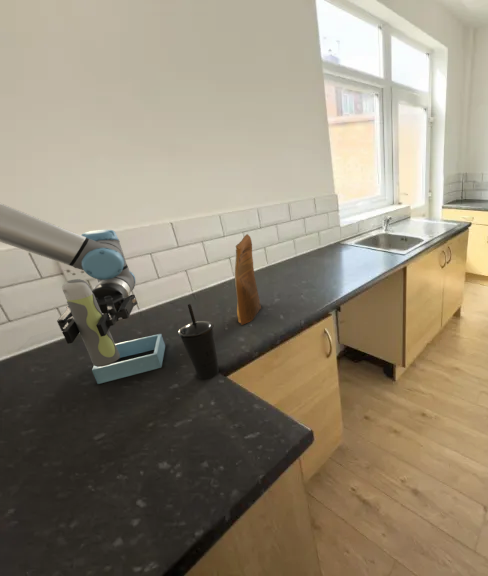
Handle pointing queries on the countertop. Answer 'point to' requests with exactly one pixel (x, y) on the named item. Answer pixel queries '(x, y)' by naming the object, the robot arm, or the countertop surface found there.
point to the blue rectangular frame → (134, 364)
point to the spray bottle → (90, 322)
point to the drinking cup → (200, 346)
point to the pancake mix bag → (245, 282)
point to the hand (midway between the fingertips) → (84, 333)
